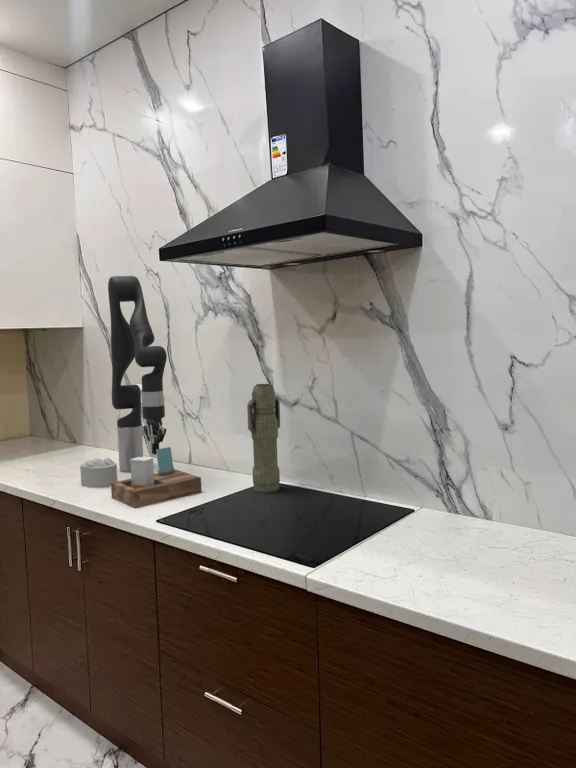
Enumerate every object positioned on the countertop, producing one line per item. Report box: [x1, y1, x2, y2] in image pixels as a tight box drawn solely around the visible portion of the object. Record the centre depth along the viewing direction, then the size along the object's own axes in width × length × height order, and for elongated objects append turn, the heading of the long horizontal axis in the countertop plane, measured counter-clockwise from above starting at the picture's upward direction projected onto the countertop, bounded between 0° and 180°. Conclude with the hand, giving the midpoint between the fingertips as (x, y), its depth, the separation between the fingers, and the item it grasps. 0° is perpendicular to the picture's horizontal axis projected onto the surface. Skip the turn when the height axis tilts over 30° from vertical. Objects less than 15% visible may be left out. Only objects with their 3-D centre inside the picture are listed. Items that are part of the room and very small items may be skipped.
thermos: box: [246, 383, 281, 494], centre depth 191 cm, size 9×12×35 cm
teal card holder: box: [156, 446, 176, 476], centre depth 196 cm, size 9×6×2 cm
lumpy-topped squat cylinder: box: [79, 457, 118, 489], centre depth 206 cm, size 10×13×9 cm
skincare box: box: [130, 456, 155, 489], centre depth 186 cm, size 6×4×12 cm
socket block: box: [110, 469, 203, 509], centre depth 190 cm, size 16×24×5 cm, turn 131°
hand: (155, 453), depth 201 cm, fingers closed
